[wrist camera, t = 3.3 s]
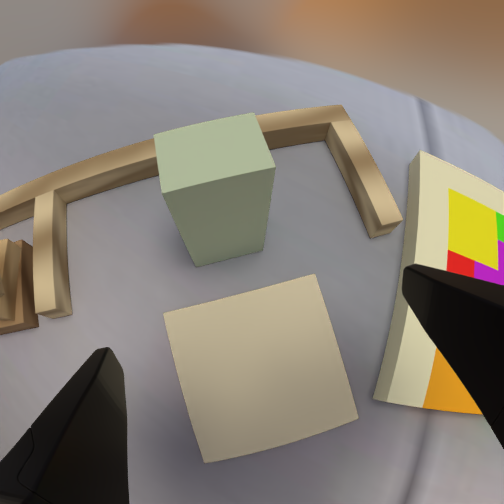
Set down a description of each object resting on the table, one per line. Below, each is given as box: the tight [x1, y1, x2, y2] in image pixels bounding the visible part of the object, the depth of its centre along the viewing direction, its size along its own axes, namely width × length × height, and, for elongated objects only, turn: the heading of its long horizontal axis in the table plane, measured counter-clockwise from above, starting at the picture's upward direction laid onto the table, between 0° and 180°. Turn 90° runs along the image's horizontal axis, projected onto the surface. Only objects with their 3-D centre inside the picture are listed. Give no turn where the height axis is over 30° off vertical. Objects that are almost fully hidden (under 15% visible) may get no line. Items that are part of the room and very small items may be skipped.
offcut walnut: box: [0, 240, 39, 335], centre depth 21 cm, size 7×5×2 cm
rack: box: [0, 105, 403, 319], centre depth 23 cm, size 12×38×2 cm, turn 105°
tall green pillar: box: [154, 113, 276, 267], centre depth 19 cm, size 4×5×10 cm
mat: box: [163, 274, 359, 463], centre depth 20 cm, size 11×11×1 cm
